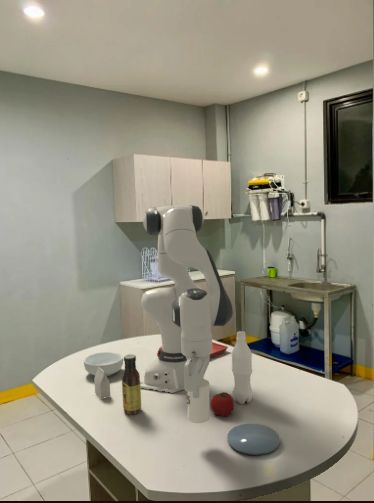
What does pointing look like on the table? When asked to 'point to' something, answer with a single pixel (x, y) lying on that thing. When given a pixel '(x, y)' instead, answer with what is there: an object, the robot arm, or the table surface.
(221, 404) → the tomato
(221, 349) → the plant saucer
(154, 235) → the robot arm
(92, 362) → the cereal bowl
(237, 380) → the water bottle
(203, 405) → the candle
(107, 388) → the small milk carton
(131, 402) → the sauce bottle
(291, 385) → the table surface
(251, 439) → the candle dish
